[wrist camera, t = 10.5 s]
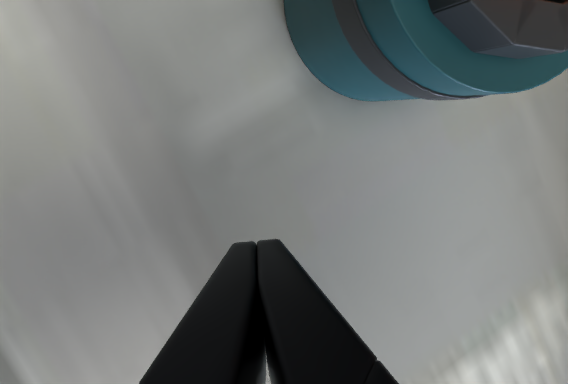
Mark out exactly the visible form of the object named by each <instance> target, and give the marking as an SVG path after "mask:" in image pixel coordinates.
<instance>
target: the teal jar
mask: <svg viewBox="0 0 568 384" xmlns="http://www.w3.org/2000/svg"><path fill="white" fill-rule="evenodd" d="M284 10H285V17H286V22H287V27H288V30H289V33H290V36H291V39H292V42H293V44H294V46H295V48H296V50H297V52H298V54H299V56H300V57H301V59H302V60H303V62H304V64H305V65H306V66H307V67H308V69H309V70H310V71H311V72H312V73H313V74H314V75H315V76H316V77H317V78H318V79H319V80H320V81H321V82H322V83H324V84H325V85H326V86H328V87H329V88H330V89H332V90H334V91H336V92H338V93H339V94H341V95H344V96H347V97H349V98H353V99H357V100H362V101H387V100H404V99H421V98H422V99H427V100H456V99H470V98H479V97H483V96H487V95H491V94H505V93H517V92H521V91H525V90H529V89H532V88H534V87H537V86H539V85H542V84H544V83H546V82H548V81H549V80H551V79H553V78H554V77H556V76H558V75H559V74H561V73H562V72H563V71H564V70H566V69H567V68H568V50H567V51H565V52H562V53H556V54H549V55H543V56H536V57H529V58H522V59H515V58H508V57H501V56H494V55H487V54H481V53H474V52H472V51H471V50H470V49H469V48H468V47H467V46H465V45H464V44H463V43H462V42H461V41H460V40H459V39H458V38H457V37H456V36H455V35H454V34H453V33H452V32H451V31H450V30H449V29H448V28H447V27H446V26H444V25H443V24H442V23H441V22H440V21H439V20H438V19H437V18H436V17H435V16H434V15H433V13H432V12H431V9H430V6H429V3H428V0H284Z"/></svg>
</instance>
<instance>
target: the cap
mask: <svg viewBox="0 0 568 384" xmlns="http://www.w3.org/2000/svg"><path fill="white" fill-rule="evenodd" d="M428 3H429V6H430V9H431V12H432V13H433V15H434V16H435V17H436V18H437V19H438V20H439V21H440V22H441V23H442V24H443V25H444V26H446V27H447V28H448V29H449V30H450V31H451V32H452V33H453V34H454V35H455V36H456V37H457V38H458V39H459V40H460V41H461V42H462V43H463V44H464V45H465V46H467V47H468V48H469V49H470V50H471V51H472V52H474V53H481V54H487V55H494V56H501V57H508V58H515V59H522V58H529V57H536V56H543V55H549V54H556V53H562V52H565V51H567V50H568V0H428Z"/></svg>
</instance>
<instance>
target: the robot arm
mask: <svg viewBox="0 0 568 384" xmlns="http://www.w3.org/2000/svg"><path fill="white" fill-rule="evenodd" d="M266 356H267V364H268V370H269V376H270V381H271V384H399V383H398V382H397V381H396V380H395V379H394V377H393V376H392V375H391V374H390V373H389V371H388V370H387V369H386V368H385V367H384V365H383V364H382V363H381V362H380V361H377V357H376V356H375V355H374V354H373V352H372V351H371V350H370V349H369V347H368V346H367V345H366V344H365V343H364V341H363V340H362V339H361V338H360V337H359V335H358V334H357V333H356V332H355V330H354V329H353V328H352V327H351V326H350V324H349V323H348V322H347V321H346V320H345V318H344V317H343V316H342V315H341V313H340V312H339V311H338V310H337V309H336V307H335V306H334V305H333V304H332V303H331V301H330V300H329V299H328V298H327V296H326V295H325V294H324V293H323V292H322V290H321V289H320V288H319V287H318V286H317V284H316V283H315V282H314V281H313V279H312V278H311V277H310V276H309V275H308V273H307V272H306V271H305V270H304V269H303V267H302V266H301V265H300V264H299V262H298V261H297V260H296V259H295V258H294V256H293V255H292V254H291V253H290V252H289V250H288V249H287V248H286V247H285V246H284V244H283V243H282V242H281V241H280V240H279V239H270V240H260V241H258V242H257V246H256V243H255V242H253V241H250V242H239V243H234V244H233V245H232V246H231V247H230V249H229V250H228V252H227V253H226V255H225V256H224V258H223V259H222V261H221V262H220V264H219V265H218V267H217V268H216V270H215V271H214V272H213V274H212V275H211V277H210V278H209V280H208V281H207V283H206V284H205V286H204V287H203V289H202V290H201V292H200V293H199V295H198V296H197V298H196V299H195V301H194V302H193V304H192V305H191V307H190V308H189V310H188V311H187V313H186V314H185V315H184V317H183V318H182V320H181V321H180V323H179V324H178V326H177V327H176V329H175V330H174V332H173V333H172V335H171V336H170V338H169V339H168V341H167V342H166V344H165V345H164V347H163V348H162V350H161V351H160V353H159V354H158V356H157V357H156V359H155V360H154V361H153V363H152V364H151V366H150V367H149V369H148V370H147V372H146V373H145V375H144V376H143V378H142V379H141V381H140V382H139V384H265V381H266Z"/></svg>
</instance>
